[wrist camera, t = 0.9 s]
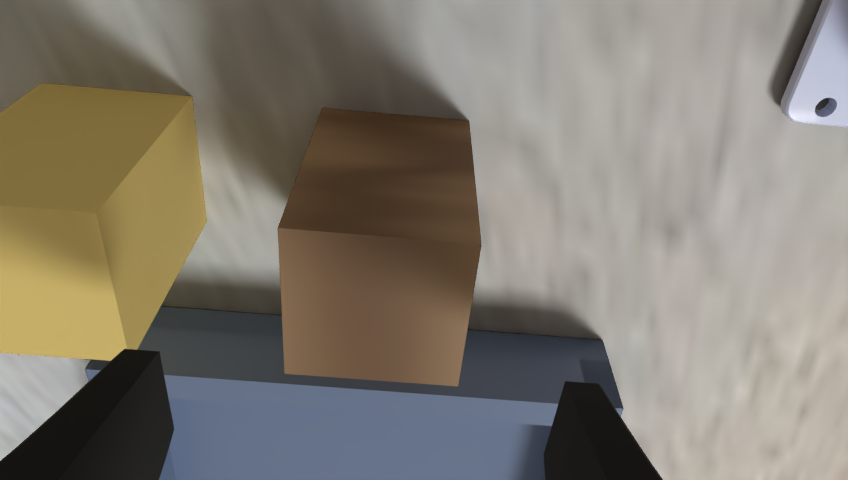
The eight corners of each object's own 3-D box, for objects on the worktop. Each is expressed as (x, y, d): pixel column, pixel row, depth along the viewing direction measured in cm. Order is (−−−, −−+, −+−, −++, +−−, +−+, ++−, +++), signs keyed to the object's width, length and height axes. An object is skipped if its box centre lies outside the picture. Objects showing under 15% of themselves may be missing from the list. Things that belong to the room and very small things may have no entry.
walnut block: (469, 120, 18) (481, 244, 13) (452, 240, 20) (458, 386, 15) (322, 107, 18) (277, 227, 13) (322, 230, 20) (284, 373, 15)
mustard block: (192, 96, 18) (96, 213, 13) (207, 220, 20) (130, 362, 15) (41, 82, 17) (-116, 196, 12) (73, 210, 20) (-50, 349, 15)
